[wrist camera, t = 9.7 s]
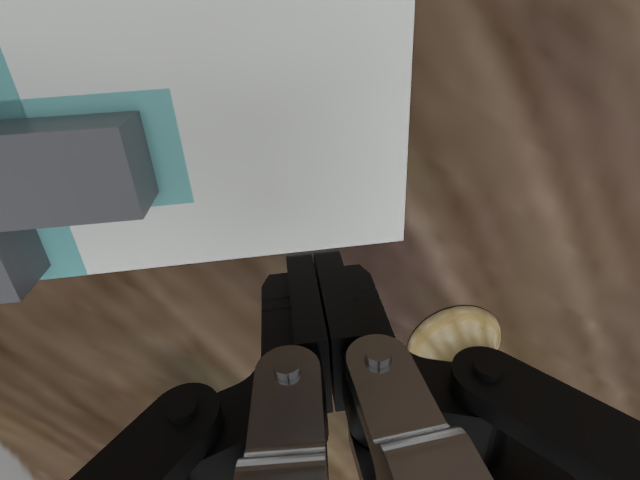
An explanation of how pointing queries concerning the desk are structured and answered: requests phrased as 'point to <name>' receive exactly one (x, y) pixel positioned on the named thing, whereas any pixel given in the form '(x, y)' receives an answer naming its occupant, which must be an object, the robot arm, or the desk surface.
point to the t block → (66, 184)
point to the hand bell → (454, 333)
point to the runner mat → (240, 116)
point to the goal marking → (152, 105)
